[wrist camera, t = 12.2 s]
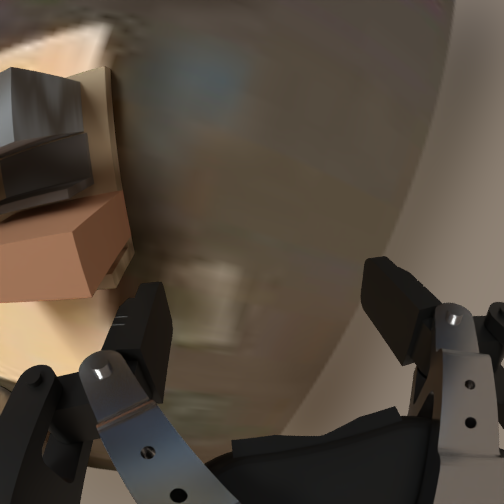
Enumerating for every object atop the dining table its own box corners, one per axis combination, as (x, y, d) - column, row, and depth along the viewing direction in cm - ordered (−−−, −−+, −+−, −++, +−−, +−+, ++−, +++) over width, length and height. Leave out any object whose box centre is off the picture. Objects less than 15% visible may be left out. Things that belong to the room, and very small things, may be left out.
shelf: (135, 252, 27) (93, 333, 16) (11, 267, 25) (-48, 329, 14) (110, 68, 20) (39, 37, 9) (-19, 118, 18) (-100, 133, 7)
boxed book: (131, 235, 24) (91, 297, 15) (26, 250, 23) (-30, 304, 14) (122, 189, 23) (72, 231, 14) (16, 212, 22) (-49, 255, 13)
